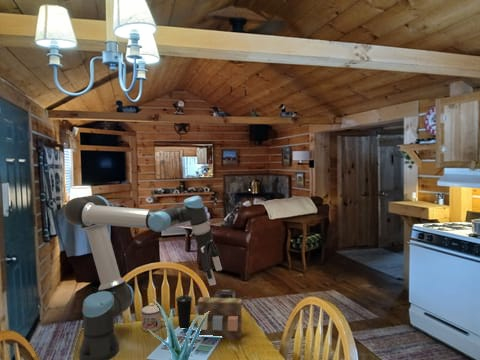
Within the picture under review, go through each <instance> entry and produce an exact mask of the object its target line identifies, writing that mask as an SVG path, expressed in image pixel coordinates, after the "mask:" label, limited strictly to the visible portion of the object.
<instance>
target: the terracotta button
mask: <svg viewBox="0 0 480 360" xmlns="http://www.w3.org/2000/svg"><path fill="white" fill-rule="evenodd" d="M237 330H238V316H233V315H231V316H229V317H228V331H237Z"/></svg>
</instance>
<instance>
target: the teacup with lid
mask: <svg viewBox="0 0 480 360" xmlns="http://www.w3.org/2000/svg"><path fill="white" fill-rule="evenodd" d="M157 306H158V305H156V304H154V303H153V302H151V303H149V304H148V305H147V306H144V307H143V308H142V309H141V328H142V329H141V330H143V331H144V332H147V333H149V332H148V329H149V330H151V331H152V332H156V331H158V330H160V329H161V327H162V324H163V323H165V322H164V320H165V319H164V320H162V314H161V312H162V311H161V312H160V310H159V308H158V307H157Z"/></svg>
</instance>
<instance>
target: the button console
mask: <svg viewBox="0 0 480 360" xmlns="http://www.w3.org/2000/svg"><path fill="white" fill-rule="evenodd" d="M208 311H210V312H209V314H208V328H207V330H201V331H200V334H199V335H213V336H222V337H223V338H222V339H224V338H227V339H228V340H241V339H242V334H243V329H242V326H243V325H242V324H243V323H242V320H243V319H242V298H237V297H236V298H215V297H203V296H202V297H201V296H200V297H199V298H198V300H197V314H198V315H197V317H198V316H199V315H202V314H204V313H206V312H208ZM217 315H223V329H222V330H213V316H217ZM231 315H233V316H238V330H237V331H228V317H229V316H231ZM227 339H226V340H227Z"/></svg>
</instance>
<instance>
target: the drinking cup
mask: <svg viewBox="0 0 480 360" xmlns="http://www.w3.org/2000/svg"><path fill="white" fill-rule="evenodd" d="M182 287H183V288H182V289H183V291H182V293H183V295H179V296H177V297H176V298H175V301H176V308H177V317H178V327H180V328H187V329H189V328H190V327H191V326H190V323H191V312H192V301H193V297H192V296H190V295H187V294H186V291H185V290H186V289H185V288H186V285H185V284H183V286H182ZM189 326H190V327H189ZM180 328H179V329H180Z"/></svg>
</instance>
